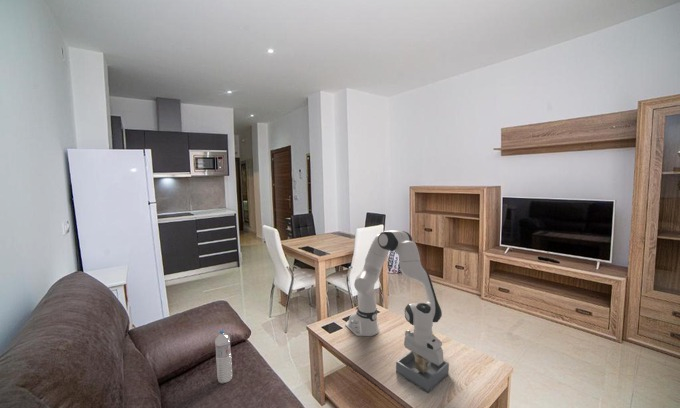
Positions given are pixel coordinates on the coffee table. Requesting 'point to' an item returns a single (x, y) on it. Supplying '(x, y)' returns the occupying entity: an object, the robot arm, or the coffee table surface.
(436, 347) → the robot arm
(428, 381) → the bin
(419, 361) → the beech block
